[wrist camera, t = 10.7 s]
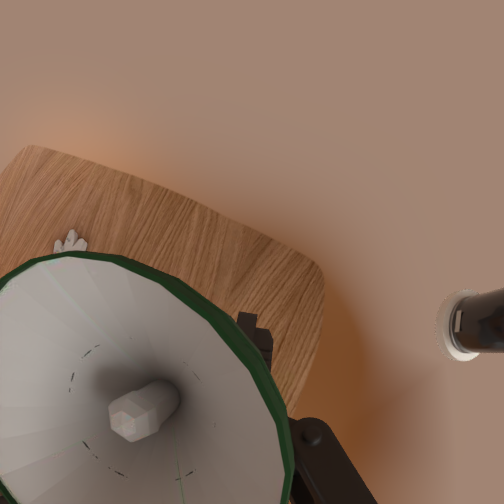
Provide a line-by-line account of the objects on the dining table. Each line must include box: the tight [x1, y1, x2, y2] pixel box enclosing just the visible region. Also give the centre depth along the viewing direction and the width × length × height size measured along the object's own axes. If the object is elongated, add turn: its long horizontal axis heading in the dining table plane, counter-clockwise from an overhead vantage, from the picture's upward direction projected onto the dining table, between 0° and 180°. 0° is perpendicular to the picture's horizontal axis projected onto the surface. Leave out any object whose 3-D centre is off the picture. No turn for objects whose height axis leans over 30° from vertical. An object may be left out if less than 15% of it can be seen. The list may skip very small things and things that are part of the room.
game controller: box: [54, 229, 87, 254], centre depth 36 cm, size 6×12×3 cm, turn 20°
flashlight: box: [0, 250, 295, 504], centre depth 12 cm, size 5×5×20 cm
